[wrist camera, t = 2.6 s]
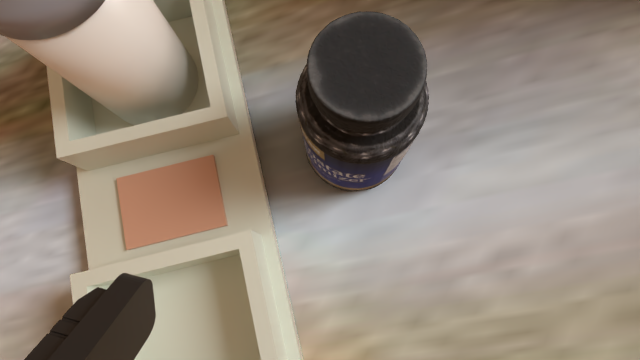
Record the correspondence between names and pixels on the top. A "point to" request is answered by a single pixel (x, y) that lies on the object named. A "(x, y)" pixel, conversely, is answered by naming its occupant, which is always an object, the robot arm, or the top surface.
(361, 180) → the pill bottle
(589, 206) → the top surface
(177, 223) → the cream compartment organizer
